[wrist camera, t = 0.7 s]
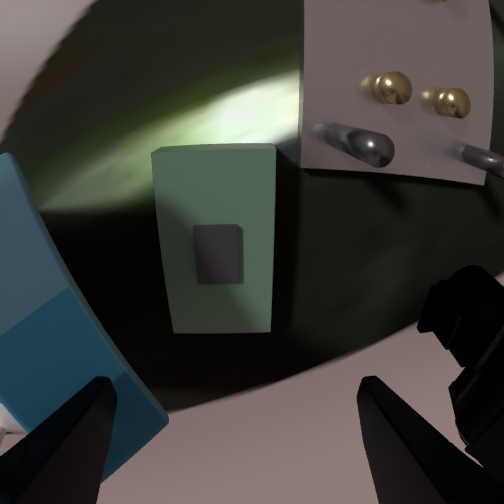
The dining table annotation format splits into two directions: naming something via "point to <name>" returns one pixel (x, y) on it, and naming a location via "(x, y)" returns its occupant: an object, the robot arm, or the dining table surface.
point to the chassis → (397, 88)
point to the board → (217, 234)
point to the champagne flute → (8, 423)
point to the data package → (57, 332)
